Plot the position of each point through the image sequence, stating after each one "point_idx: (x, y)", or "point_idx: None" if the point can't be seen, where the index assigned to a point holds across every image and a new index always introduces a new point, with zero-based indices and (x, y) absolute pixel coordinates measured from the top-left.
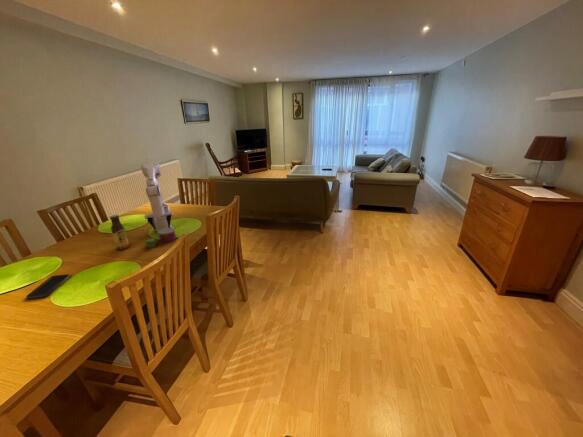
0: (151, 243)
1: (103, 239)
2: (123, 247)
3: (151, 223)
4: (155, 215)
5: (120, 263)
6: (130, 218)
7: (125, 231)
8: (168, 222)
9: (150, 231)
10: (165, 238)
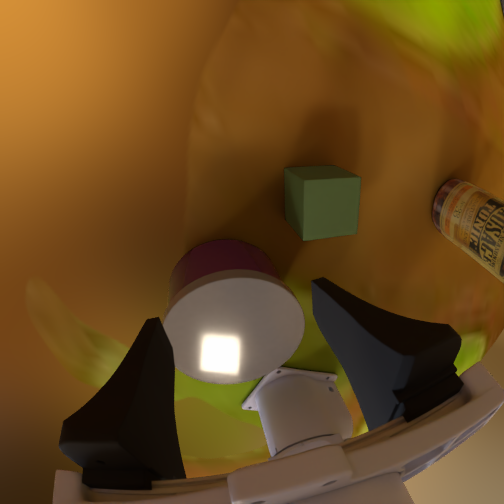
0: (313, 173)
1: (489, 290)
2: (452, 184)
3: (386, 322)
4: (361, 487)
5: (411, 15)
6: None
7: (496, 264)
8: (128, 374)
9: None
10: (221, 255)
